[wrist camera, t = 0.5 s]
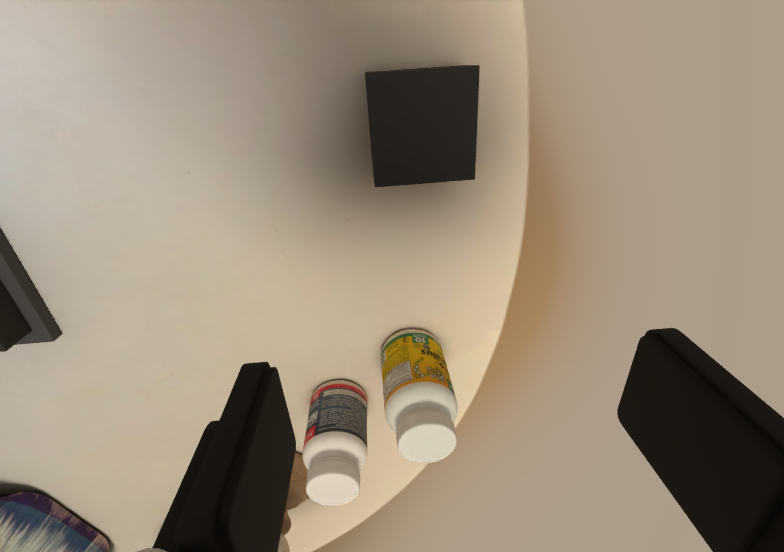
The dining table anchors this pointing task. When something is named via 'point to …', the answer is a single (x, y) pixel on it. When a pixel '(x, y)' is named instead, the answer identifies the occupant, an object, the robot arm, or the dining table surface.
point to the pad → (423, 124)
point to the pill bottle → (335, 442)
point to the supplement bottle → (418, 396)
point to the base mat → (21, 305)
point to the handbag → (44, 527)
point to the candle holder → (294, 497)
